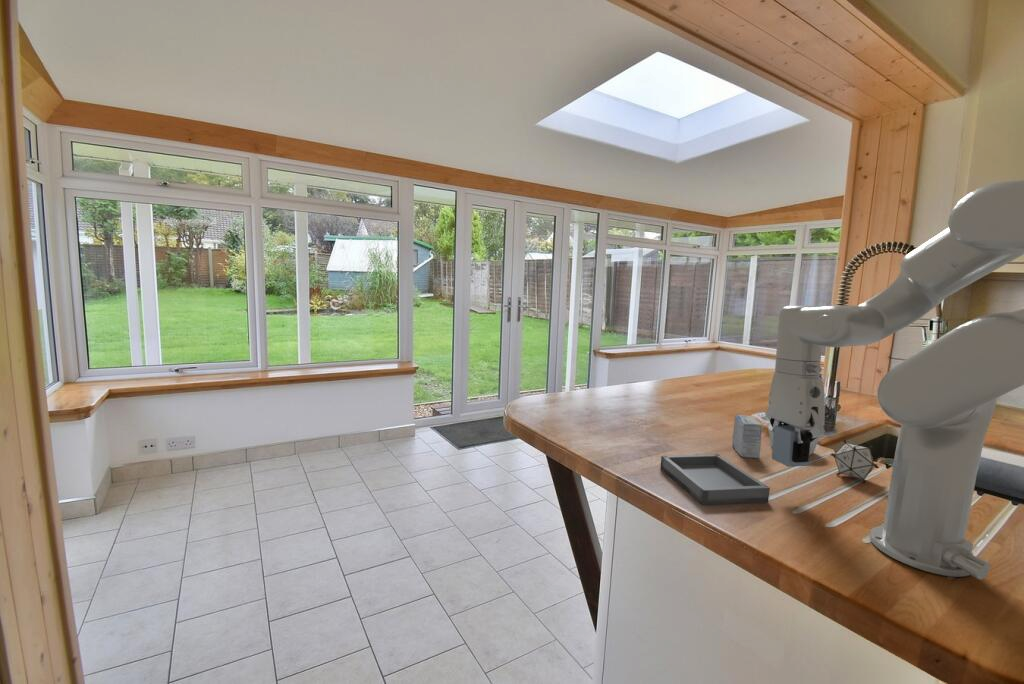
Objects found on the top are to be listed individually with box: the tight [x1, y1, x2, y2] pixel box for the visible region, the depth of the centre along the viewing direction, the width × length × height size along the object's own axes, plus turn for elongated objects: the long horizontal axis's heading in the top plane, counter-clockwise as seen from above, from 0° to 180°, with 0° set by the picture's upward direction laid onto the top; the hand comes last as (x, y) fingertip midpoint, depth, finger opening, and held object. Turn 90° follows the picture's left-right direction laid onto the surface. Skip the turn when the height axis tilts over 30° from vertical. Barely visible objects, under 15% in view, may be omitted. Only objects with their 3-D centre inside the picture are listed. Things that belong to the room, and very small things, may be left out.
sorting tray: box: [660, 453, 770, 506], centre depth 96 cm, size 17×14×3 cm
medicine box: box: [731, 414, 763, 459], centre depth 115 cm, size 8×4×9 cm, turn 168°
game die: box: [829, 439, 880, 484], centre depth 101 cm, size 9×8×10 cm
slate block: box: [771, 425, 810, 468], centre depth 91 cm, size 4×4×7 cm
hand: (790, 456), depth 92 cm, fingers closed on slate block, 4 cm apart
